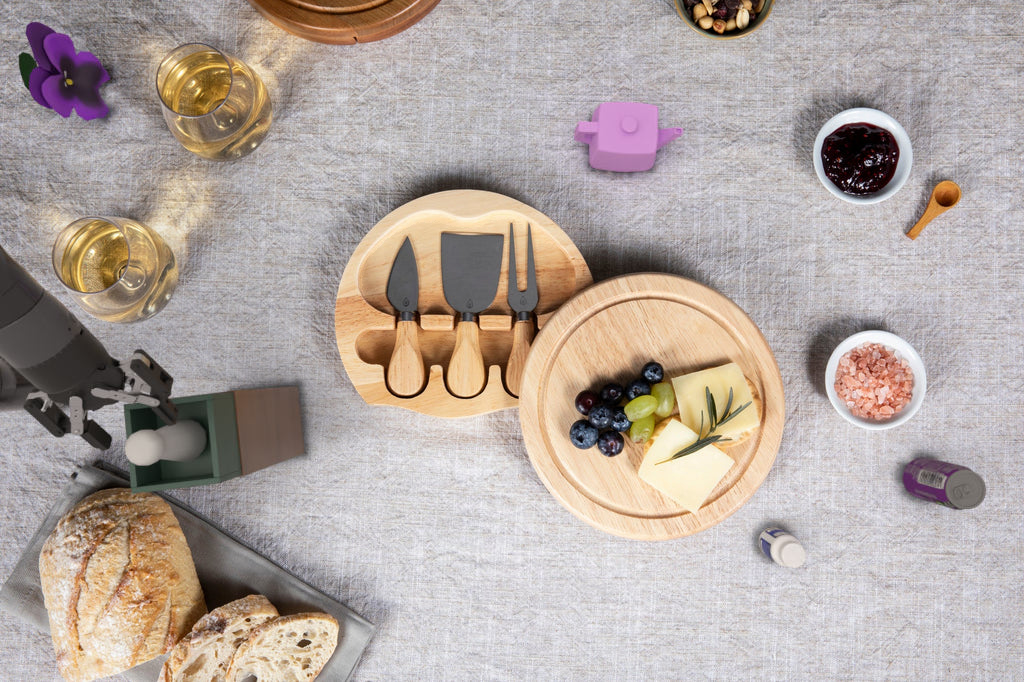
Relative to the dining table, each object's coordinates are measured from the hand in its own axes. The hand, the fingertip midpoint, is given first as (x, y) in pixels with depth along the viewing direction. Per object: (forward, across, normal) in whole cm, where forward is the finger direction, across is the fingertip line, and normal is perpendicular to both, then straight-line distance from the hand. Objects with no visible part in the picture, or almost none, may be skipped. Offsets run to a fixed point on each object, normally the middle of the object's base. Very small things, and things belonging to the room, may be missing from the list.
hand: (141, 432), depth 80 cm
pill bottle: (+64, +76, -10) cm, 100 cm away
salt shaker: (+10, 0, +7) cm, 12 cm away
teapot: (+11, +77, +43) cm, 89 cm away
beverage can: (+63, +104, -9) cm, 122 cm away
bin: (+10, 0, +7) cm, 12 cm away
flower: (-20, -13, +74) cm, 78 cm away
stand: (+28, 0, +25) cm, 38 cm away
